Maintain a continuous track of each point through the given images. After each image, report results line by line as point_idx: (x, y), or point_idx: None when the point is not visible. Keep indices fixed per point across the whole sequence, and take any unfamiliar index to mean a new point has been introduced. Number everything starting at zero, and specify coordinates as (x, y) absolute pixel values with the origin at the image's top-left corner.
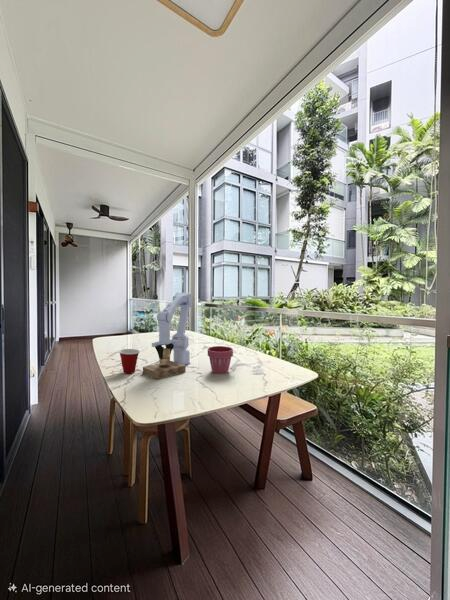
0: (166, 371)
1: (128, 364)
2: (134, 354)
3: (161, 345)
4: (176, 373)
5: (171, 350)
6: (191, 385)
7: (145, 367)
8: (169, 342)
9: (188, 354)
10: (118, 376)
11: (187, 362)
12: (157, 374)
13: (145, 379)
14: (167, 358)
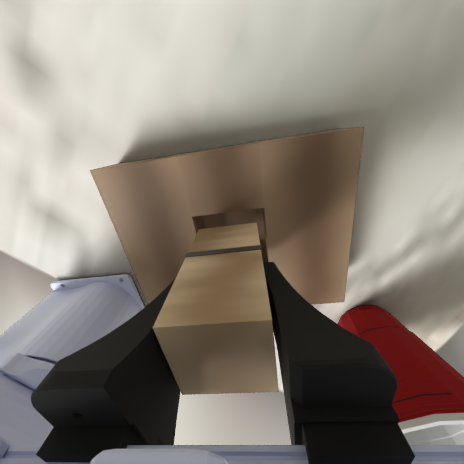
0: (269, 141)
1: (424, 345)
2: (458, 409)
3: (307, 444)
4: (185, 153)
5: (136, 316)
6: None
7: (340, 285)
8: None
9: (15, 328)
10: (437, 298)
11: (65, 290)
12: (350, 128)
13: (386, 176)
14: (216, 250)
